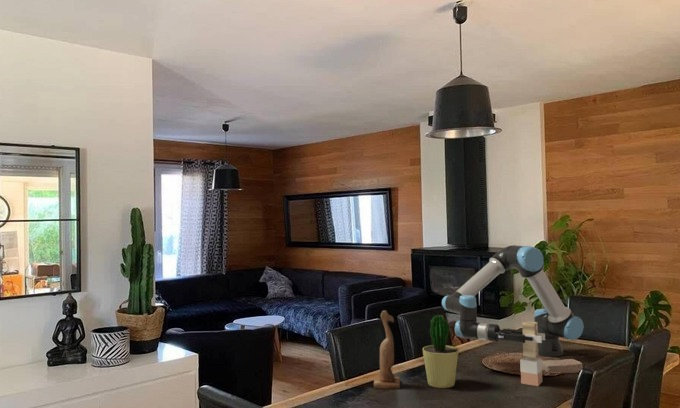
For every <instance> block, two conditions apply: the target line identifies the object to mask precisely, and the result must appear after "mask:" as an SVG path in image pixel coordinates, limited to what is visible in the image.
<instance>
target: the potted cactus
mask: <svg viewBox="0 0 680 408" xmlns="http://www.w3.org/2000/svg"><path fill="white" fill-rule="evenodd" d="M431 318H432V319H430V320H429V322H430V325H429V326H430V329H429V335H430V337H431V344H430V345H427V346H424V347H423V348H422V355H423V360H424V367H425V372H426V379H427V384H428V385H429V386H431V387H434V388H439V389H447V388H452V387H454V386H455V383H456V374H457V366H458V358H459V351H460V350H459V348H457V347H455V346H451V345H447V343H448V339H449V334H451V333H450V326H449V324H450V323H449V322H448V319H446V317H444V315H443V314H439V315H438V314H437V313H435V314H434V315H433V316H432V317H431Z"/></svg>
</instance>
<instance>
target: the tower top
mask: <svg viewBox="0 0 680 408" xmlns="http://www.w3.org/2000/svg"><path fill="white" fill-rule="evenodd" d="M542 361H543V359H542V358H539V357H536V358H534V357H526V356H523V357H522V358H521V359H520V360H519V364H520V367H519V371H520V373H521V372H526V373H532V374H538V373H540V372H541V371H542V372H543V370H542Z"/></svg>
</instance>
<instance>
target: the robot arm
mask: <svg viewBox="0 0 680 408" xmlns="http://www.w3.org/2000/svg"><path fill="white" fill-rule="evenodd" d="M488 260H489V261H488V263H486V264H485V265H484V266H483V267H482V268H481V269H480V270H479V271H477V272H475V274H474V275H473V276H471V278H469V279H468V280H466V282H465V283H464V284H463V285H462V286H460V287H459V288H458V289H457V290H456V291H455V292H453V294H451V295H450V294H449V295H445V296H444V297H443V298H442V299H441V307H442V308H443V309H444V310H445V311H448V312H449V313H455V314H458V315H459V320H457V321H456V322H455V325H454V333H455V336H457V337H459V338H463V339H472V340H480V341H482V342H484V341H489V342H495V343H497V342H499V341H503V340H504V341H511V342H519V343H522V344H523V343H525V341H528V342H537V343H538V356H542V357H553V358H555V357H560V356H563V355H564V349H563V347H562V346H563V345H562V344H561V340H560V338H563V339H566V340H571V341H574V340H577V339H579V338H580V337H581V336H582V334H583V331H584V328H585V327H584V322H583V320H582V319H581V317H579V316H576V315H574V314H573V311H572V310H571V308H569V307H568V306H565V305H564V303H563V301H562V300H561V298H560V296H559V294H558V293H557V291H556V290H555V288H554V286H553V284H551V282H550V279H549V278H548V276H547V274H546V273H545V271H544V268H545V265H544V264H545V261H544V255H543V253H542V251H541V250H540V249H539V248H537V247H534V246H531V245H507V246H505V247H503V248H501V249H500V250H499V251H497V252H496V253H495V254H494V255H492V257H490V258H489V259H488ZM511 269H513V270H517V271H518V273H519V274H520V276H521V278H524V279H527V281H528V283H529V285H530V286H531V288H532V289H533V291H534V293H535V295H536V296H537V298H538V300H539V301H540V302H541V304H542V306H543V308H537V309H535V311H534V319H533V321H534V322H537V327H538V336H535V335H523V330H522V329H512V328H502V329H501V328H500V326H499V324H497V323H495V324H494V323H490V324H489V323H486V322H477V321H478V319H477V315H478V314H477V309H478V308H477V306H478V304H477V298H476V295H477V294H479V293H480V292H481V291H482V290H483V289H484V288H486V286H488V285H489V284H490V283H491V282H492V281H493V280H495V279H496V277H497V276H499V275H500V274H504V273H505V272H506V271H508V270H511Z"/></svg>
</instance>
